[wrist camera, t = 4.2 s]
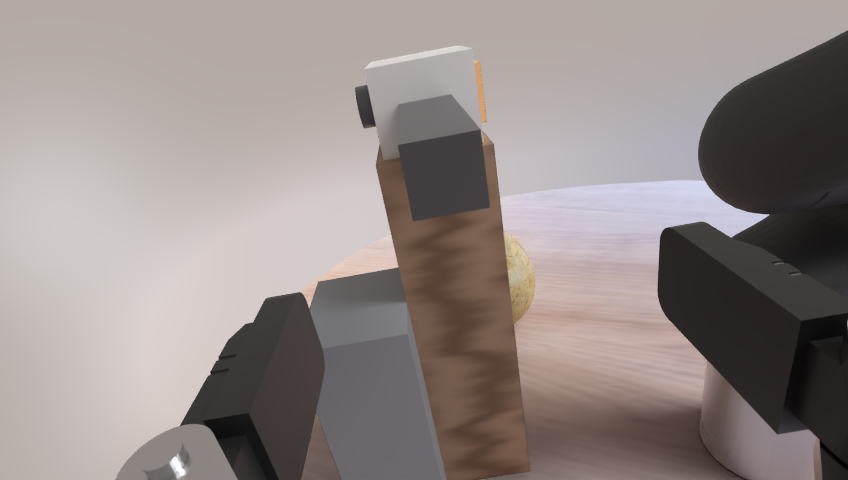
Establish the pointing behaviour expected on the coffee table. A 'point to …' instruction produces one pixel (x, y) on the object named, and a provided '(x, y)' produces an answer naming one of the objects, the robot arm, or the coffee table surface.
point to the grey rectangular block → (373, 381)
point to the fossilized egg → (519, 277)
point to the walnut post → (462, 326)
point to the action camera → (431, 127)
